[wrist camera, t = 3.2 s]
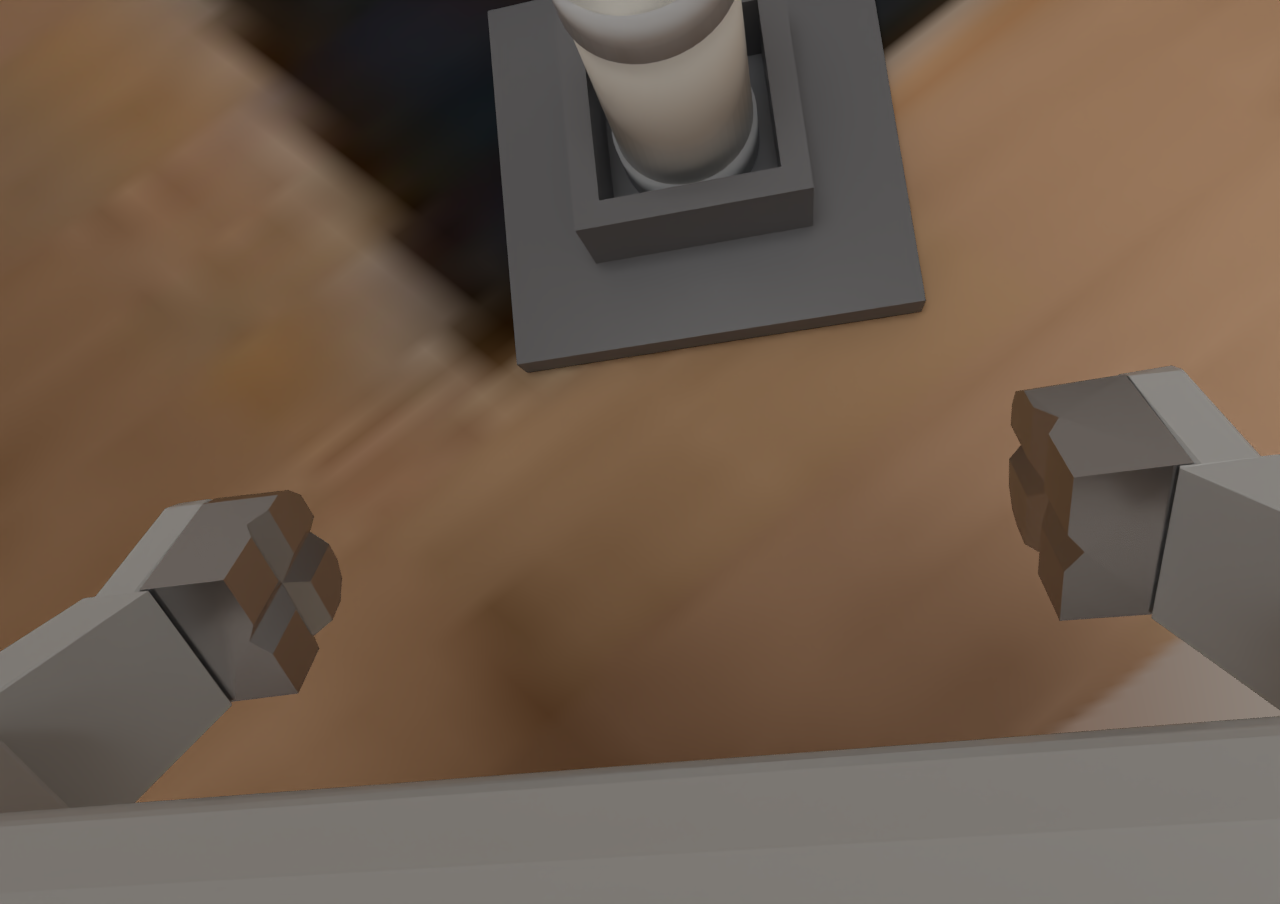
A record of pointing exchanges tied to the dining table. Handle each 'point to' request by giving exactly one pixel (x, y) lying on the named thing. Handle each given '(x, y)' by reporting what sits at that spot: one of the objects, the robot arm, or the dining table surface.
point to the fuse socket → (703, 197)
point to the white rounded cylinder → (670, 85)
